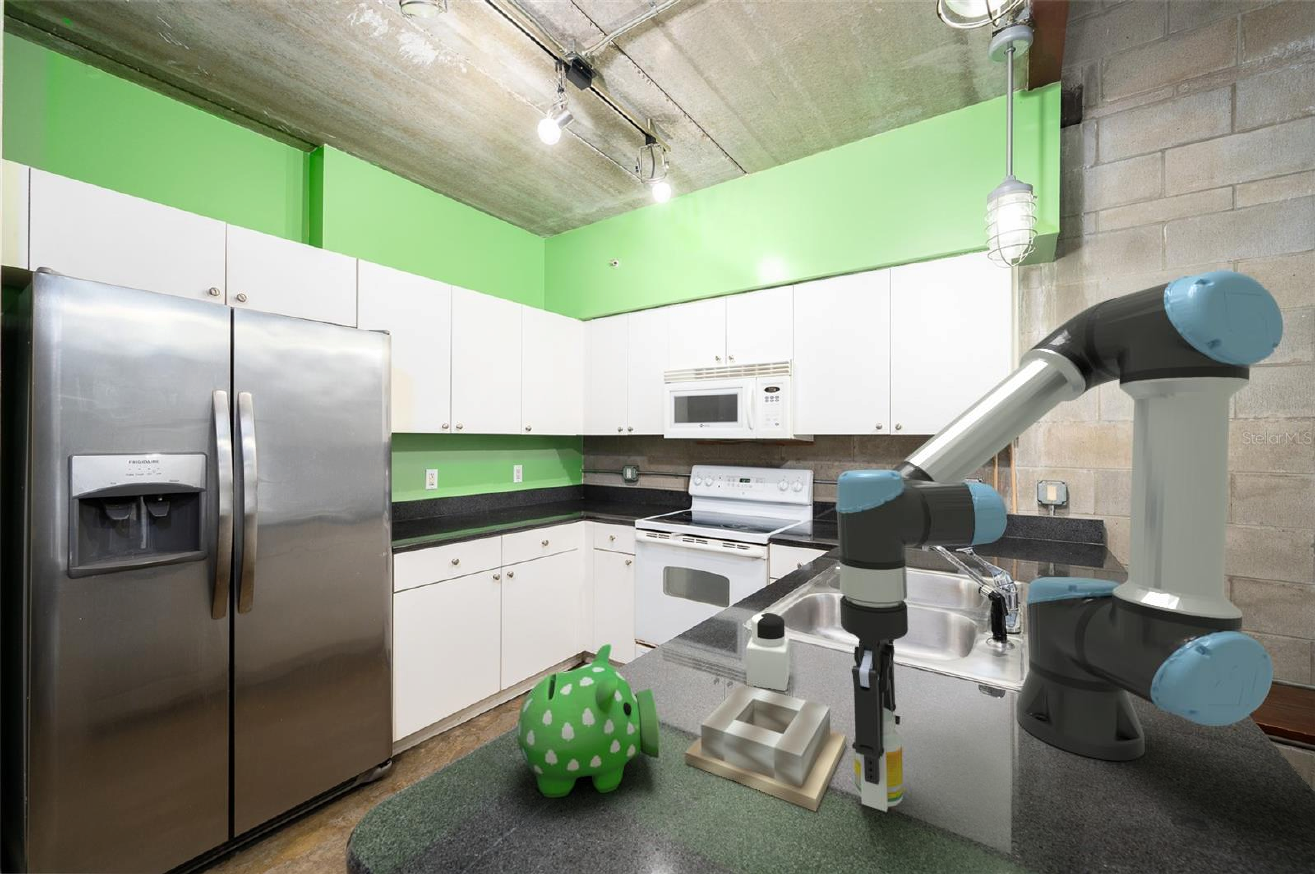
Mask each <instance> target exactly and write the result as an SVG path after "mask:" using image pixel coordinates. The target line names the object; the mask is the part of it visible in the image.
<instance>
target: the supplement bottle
mask: <svg viewBox="0 0 1315 874" xmlns="http://www.w3.org/2000/svg"><path fill="white" fill-rule="evenodd" d="M895 715H896V714H894V712H893V713H892V712H891V711H890V710H888V709H886V708H884V729H883V749H884V751H886V771H887V802H888V808H889V807H894V806H897V805H900V803H901V802H902V800H903V797H904V778H903V777H904V776H903V775H904V774H903V773H904V772H903V771H904V770H903V769H904V768H903V742H902V738H901V735H900V733H899V732H898V731H897V730H896V729H895V728H896V727H897V726H896V725H897V724H895ZM854 742H855V729H854V731H853V743H854ZM855 750H856V749H853V757H854V758H853V759H854V763H853V764H854V786H855V789H856V792H857V793H858V795H859V796H860V797H861V769H860V754H858V753H856V751H855Z"/></svg>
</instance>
